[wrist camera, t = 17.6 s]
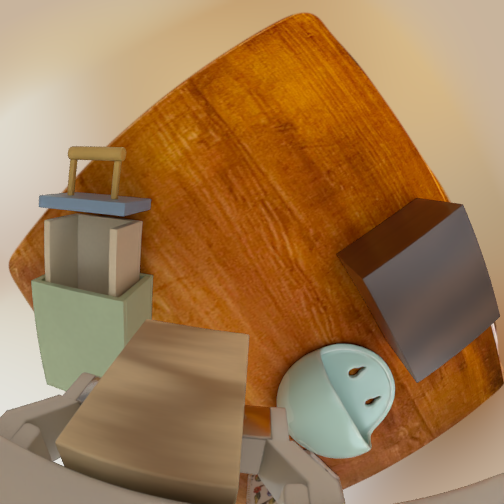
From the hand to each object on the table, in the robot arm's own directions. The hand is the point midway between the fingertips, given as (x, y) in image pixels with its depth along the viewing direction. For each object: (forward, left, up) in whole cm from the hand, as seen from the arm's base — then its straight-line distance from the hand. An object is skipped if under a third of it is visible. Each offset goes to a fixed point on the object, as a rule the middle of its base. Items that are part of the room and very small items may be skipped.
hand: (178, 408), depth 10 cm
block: (0, 0, -3) cm, 3 cm away
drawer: (-15, -4, -26) cm, 30 cm away
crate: (+19, +6, -27) cm, 34 cm away
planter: (+21, -13, -27) cm, 37 cm away
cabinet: (-11, -16, -27) cm, 33 cm away
